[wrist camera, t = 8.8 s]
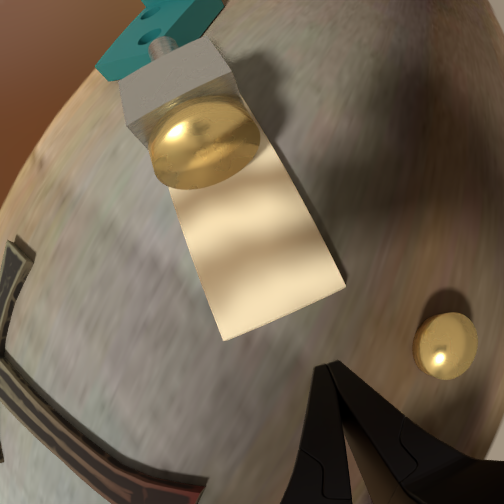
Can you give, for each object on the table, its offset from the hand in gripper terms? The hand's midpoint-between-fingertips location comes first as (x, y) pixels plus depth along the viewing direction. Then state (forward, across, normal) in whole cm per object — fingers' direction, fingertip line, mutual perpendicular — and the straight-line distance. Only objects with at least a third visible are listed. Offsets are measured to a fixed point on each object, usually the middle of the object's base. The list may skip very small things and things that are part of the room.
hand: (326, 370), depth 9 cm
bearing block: (+23, +4, -7) cm, 24 cm away
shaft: (+24, +4, -10) cm, 26 cm away
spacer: (+8, -11, +10) cm, 17 cm away
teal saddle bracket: (+39, +7, -23) cm, 46 cm away
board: (+19, +3, -2) cm, 20 cm away
